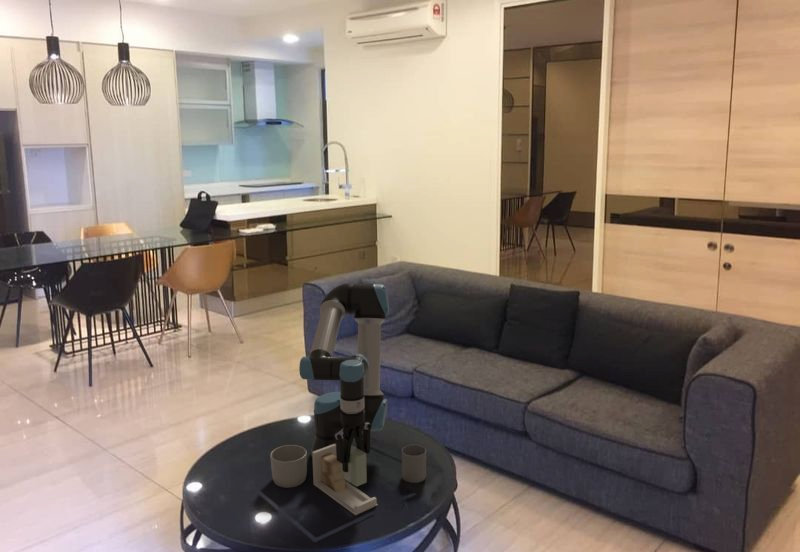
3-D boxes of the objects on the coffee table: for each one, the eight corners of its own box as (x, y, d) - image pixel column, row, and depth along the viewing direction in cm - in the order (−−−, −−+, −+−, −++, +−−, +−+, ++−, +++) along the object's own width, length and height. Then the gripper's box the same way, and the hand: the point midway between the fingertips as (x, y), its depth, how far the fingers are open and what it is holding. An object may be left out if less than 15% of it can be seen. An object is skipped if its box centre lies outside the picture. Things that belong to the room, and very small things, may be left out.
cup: (423, 483, 224) (423, 457, 222) (400, 481, 226) (399, 455, 224) (427, 471, 233) (427, 445, 230) (404, 469, 234) (404, 443, 232)
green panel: (341, 476, 212) (341, 448, 210) (351, 472, 214) (351, 444, 212) (356, 486, 206) (355, 457, 204) (366, 482, 208) (366, 453, 206)
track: (313, 486, 223) (312, 451, 220) (335, 477, 229) (334, 443, 226) (355, 518, 205) (354, 480, 202) (378, 507, 211) (377, 470, 208)
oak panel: (322, 483, 223) (321, 456, 221) (331, 479, 226) (331, 452, 223) (335, 493, 217) (334, 465, 215) (345, 489, 220) (344, 461, 217)
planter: (291, 495, 218) (290, 465, 215) (264, 485, 224) (262, 456, 222) (315, 479, 228) (314, 450, 226) (288, 469, 234) (287, 441, 232)
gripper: (336, 420, 197) (338, 491, 202) (381, 406, 208) (382, 473, 213) (323, 413, 203) (325, 482, 208) (367, 399, 214) (368, 464, 218)
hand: (354, 477), depth 210 cm, fingers closed on green panel, 4 cm apart
